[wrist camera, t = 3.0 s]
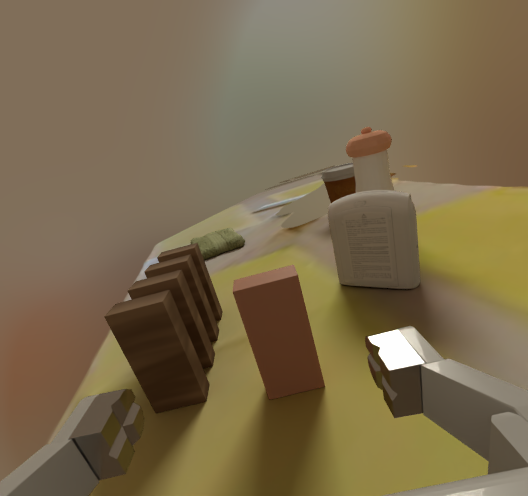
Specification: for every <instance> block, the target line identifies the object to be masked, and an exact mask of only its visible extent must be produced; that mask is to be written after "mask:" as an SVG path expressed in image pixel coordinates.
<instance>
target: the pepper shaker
mask: <svg viewBox="0 0 528 496" xmlns="http://www.w3.org/2000/svg"><path fill="white" fill-rule="evenodd" d="M371 130H372V129H371V128H370V127H366V128H363V129H362V131H361V133H362V134H361V135H358V136H356V137H353V138H352V139H351V140H350V141H349V142H348V144H347V147H346V152H347V154H348V156H349V157H353V159H352V160H353V167H354V174H355V181H356V193H358V192H363V191H372V190H392V191H394V188H393V184H392V181H391V177H390V170H389V162H388V153H387V150H386V149H388V148H389V147H390V145H391V140H392V139H391V136H390V135H389V134H388V133H387V132H385V131H381V130H378V131H373V132H371Z"/></svg>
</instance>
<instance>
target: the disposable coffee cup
mask: <svg viewBox="0 0 528 496" xmlns="http://www.w3.org/2000/svg"><path fill="white" fill-rule="evenodd" d="M321 178H322V179H323V181H324V183H325V186H326V189H327V192H328V195H329V198H330V201H331V203H332V202H334V201H336V200H338V199H340V198H342V197H345V196H347V195H351V194H354V193H356V181H355V174H354V167H353V163H348V164H343V165H339V166H335V167H332V168H329V169H326V170H324V171H323V172H322V177H321Z"/></svg>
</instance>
